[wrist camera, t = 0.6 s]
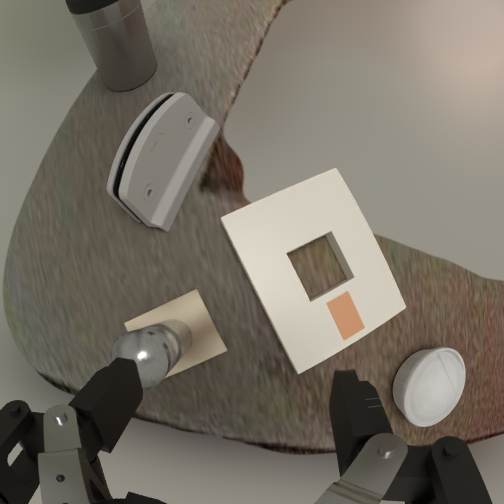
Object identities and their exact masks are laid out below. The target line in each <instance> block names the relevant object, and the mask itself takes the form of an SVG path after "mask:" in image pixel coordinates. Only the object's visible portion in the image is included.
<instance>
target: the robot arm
mask: <svg viewBox="0 0 504 504" xmlns="http://www.w3.org/2000/svg"><path fill="white" fill-rule="evenodd" d="M66 4H67V6H68V8H69V10H70V12H71V15H72V17H73V19H74V21H75V23H76V25H77V27H78V29H79V31H80V34H81V36H82V38H83V40H84V42H85V44H86V46H87V48H88V50H89V52H90V55H91V56H92V58H93V61H94V63H95V65H96V67H97V69H98V71H99V73H100V75H101V77H102V79H103V81H104V83H105V85H106V86H107V87H108V88H109V89H111V90H114V91H126V90H131V89H133V88H136V87H138V86H140V85H142V84H143V83H144V82H146V81H147V80H148V79H149V78H150V77H151V76H152V75H153V73H154V71H155V69H156V60H155V56H154V53H153V49H152V45H151V41H150V37H149V33H148V29H147V25H146V21H145V17H144V13H143V9H142V5H141V1H140V0H66ZM142 397H143V388H142V384H141V380H140V376H139V372H138V368H137V364H136V362H135V360H133V359H126V358H120V357H117V358H115V360H114V361H113V362H112V363H111V364H110V365H109V366H108V367H107V366H106V367H104V368H103V369H101V370H99V371H97V372H96V373H95V374H94V375H93V377H92V378H91V380H89V381H88V382H87V383H86V386H84V387H83V388H82V389H81V390H80V391H79V393H78V394H77V395H76V396H75V397H74V398H73V400H72V401H71V402H70V403H69V404H68V405H56V406H53V407H51V408H49V409H48V410H47V411H46V412H45V413H37V412H31V410H30V408H29V406H28V404H27V403H26V402H24V401H22V400H14V401H11V402H9V403H7V404H6V405H5V406H4V407H3V408H2V409H1V410H0V504H28V503H29V501H30V499H31V498H32V496H33V494H34V493H35V491H36V489H37V488H38V486H39V484H40V488H41V496H42V503H43V504H166V503H164V502H162V501H160V500H158V499H153V498H149V497H146V496H142V495H139V494H135V493H132V492H128V494H127V496H126V498H125V499H113V498H112V496H111V494H110V492H109V489H108V486H107V483H106V480H105V477H104V473H103V470H102V466H101V463H100V459H99V457H98V455H97V454H98V452H99V451H100V450H102V451H105V452H108V453H111V452H112V450H113V448H114V447H115V445H116V443H117V441H118V440H119V438H120V436H121V435H122V433H123V431H124V430H125V427H126V426H127V424H128V423H129V421H130V419H131V418H132V416H133V414H134V413H135V411H136V409H137V408H138V406H139V404H140V403H141V400H142ZM329 411H330V418H331V424H332V430H333V435H334V441H335V447H336V453H337V459H338V466H339V472H340V477H341V478H340V480H339V481H338V482H337V483H335V482H334V483H333V484H331V485H330V486H329V488H328V489H327V490H326V491H325V492H324V493H323V494H322V495H321V497H320V498H319V499H318V500H317V501H316V502H315V503H314V504H379V503H380V501H381V500H388V501H405V504H492V501H491V499H490V496H489V494H488V491H487V489H486V486H485V484H484V482H483V479H482V477H481V474H480V472H479V470H478V468H477V465H476V463H475V461H474V459H473V457H472V454H471V452H470V451H469V448H468V446H467V444H466V443H465V442H464V441H463V440H461V439H459V438H457V437H452V436H447V437H442V438H440V439H438V440H437V441H436V442H435V443H434V444H433V446H432V447H416V446H409V445H407V444H406V442H405V441H404V440H403V439H402V438H401V437H399V436H397V435H395V434H394V433H393V431H392V428H391V426H390V423H389V421H388V418H387V415H386V413H385V410H384V408H383V407H382V403H381V400H380V399H379V395H378V393H377V391H376V388H375V387H374V386H372V385H371V384H370V383H369V382H368V381H359V380H358V377H357V374H356V372H355V370H354V369H350V370H335V372H334V377H333V384H332V390H331V396H330V403H329ZM17 443H19V444H20V446H21V447H22V448H23V450H22V451H21V452H20V454H19V455H18V456H17V458H16V459H15V461H14V462H13V463H12V465H11V466H9V465H8V462H7V458H8V455H9V453H10V452H11V451H12V449H13V448H14V447H15V446H16V444H17Z"/></svg>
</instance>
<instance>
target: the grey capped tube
mask: <svg viewBox="0 0 504 504" xmlns="http://www.w3.org/2000/svg"><path fill="white" fill-rule="evenodd" d="M191 344H192V333H191V331H190V329H189V327H188V326H187V325H186V324H185V323H184V322H182V321H180V320H176V319H170V320H166V321H163V322H159V323H156V324H153V325H150V326H146V327H143V328H140V329H136V330H133V331H130V332H127V333H124V334H123V335H121V336H120V337H119V338H118V339H117V340H116V342H115V343H114V345H113V348H112V354H111V358H112V362H113V361H114V360H115V358H117V357H120V358H126V359H133V360H135V362H136V364H137V368H138V372H139V376H140V380H141V384H142V388H143V389H148V388H152V387H154V386H156V385H158V384H159V383H160V382H161V381H162V380H163V379H164V378H165V377H166V375H167V374H168V373H169V372H170V371H171V370H172V368H173V367H174V366H175V365H176V364H177V363H178V361H179V360H180V359H181V358H182V357H183V356H184V354H185V353H186V352H187V351H188V350H189V348H190V347H191Z"/></svg>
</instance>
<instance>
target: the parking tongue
mask: <svg viewBox="0 0 504 504" xmlns="http://www.w3.org/2000/svg"><path fill="white" fill-rule="evenodd" d="M170 319H176V320H180V321H182V322H184V323H185V324H186V325H187V326H188V327H189V329H190V331H191V333H192V344H191V347H190V348H189V350H188V351H187V352H186V353H185V354H184V356H183V357H182V358H181V359H180V360H179V361H178V363H177V364H176V365H175V366H174V367H173V368H172V370H171V371H170V372H169V373H168V374H167V375H166V377H169V376H171V375H174V374H176V373H178V372H181V371H183V370H185V369H188V368H190V367H192V366H194V365H197V364H199V363H201V362H203V361H206V360H208V359H210V358H212V357H215V356H217V355H219V354H221V353H223V352H225V351H227V348H226V346H225V344H224V342H223V340H222V338H221V336H220V334H219V332H218V330H217V328H216V326H215V324H214V322H213V320H212V318H211V316H210V314H209V312H208V310H207V308H206V306H205V304H204V302H203V300H202V298H201V296H200V294H199V292H198V289H196V290H193V291H191V292H189V293H187V294H185V295H183V296H181V297H179V298H177V299H175V300H172V301H170V302H168V303H166V304H164V305H162V306H160V307H158V308H156V309H153V310H151V311H149V312H147V313H145V314H143V315H141V316H139V317H137V318H134V319H132V320H130V321H128V322H126V323H124V324H125V326H126V328H127V331H128V332H130V331H133V330H136V329H140V328H143V327H146V326H150V325H153V324H156V323H159V322H163V321H166V320H170ZM166 377H165V378H166Z"/></svg>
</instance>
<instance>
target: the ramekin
mask: <svg viewBox="0 0 504 504" xmlns="http://www.w3.org/2000/svg"><path fill="white" fill-rule="evenodd" d="M464 383H465V365H464V362H463V359H462V357H461V356H460V354H459V353H458V352H457V351H456V350H454V349H452V348H447V347H439V348H435V349H426V350H421V351H418V352H416V353H414V354H412V355H411V356H410V357H409V358H408V359H407V360H405V362H404V363H403V364H402V365H401V367H400V368H399V370H398V372H397V374H396V376H395V379H394V383H393V398H394V401H395V404H396V405H397V407H398V408H399V410H400V411H401V412H402V413H403V414H404V416H405V417H406V419H407V420H408V421H409V422H411V423H412V424H414V425H416V426H420V427H426V426H431V425H434V424H436V423H438V422H439V421H441V420H442V419H444V418H445V417H446V416H447V415H448V414H449V413H450V412H451V411H452V409H453V408H454V407H455V406H456V404H457V402H458V400H459V398H460V396H461V394H462V391H463V388H464Z"/></svg>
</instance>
